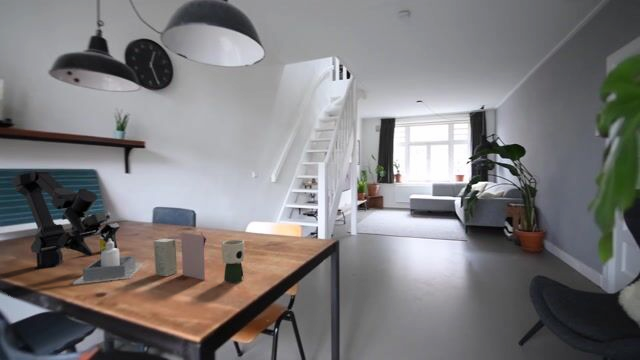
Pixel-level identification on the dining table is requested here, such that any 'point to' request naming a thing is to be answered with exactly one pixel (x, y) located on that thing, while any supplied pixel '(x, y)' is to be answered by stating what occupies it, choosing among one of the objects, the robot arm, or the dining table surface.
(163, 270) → the skincare box
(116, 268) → the flat grey tray
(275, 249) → the dining table surface
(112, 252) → the eye dropper bottle
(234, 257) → the character mug
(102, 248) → the supplement bottle
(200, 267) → the greeting card
